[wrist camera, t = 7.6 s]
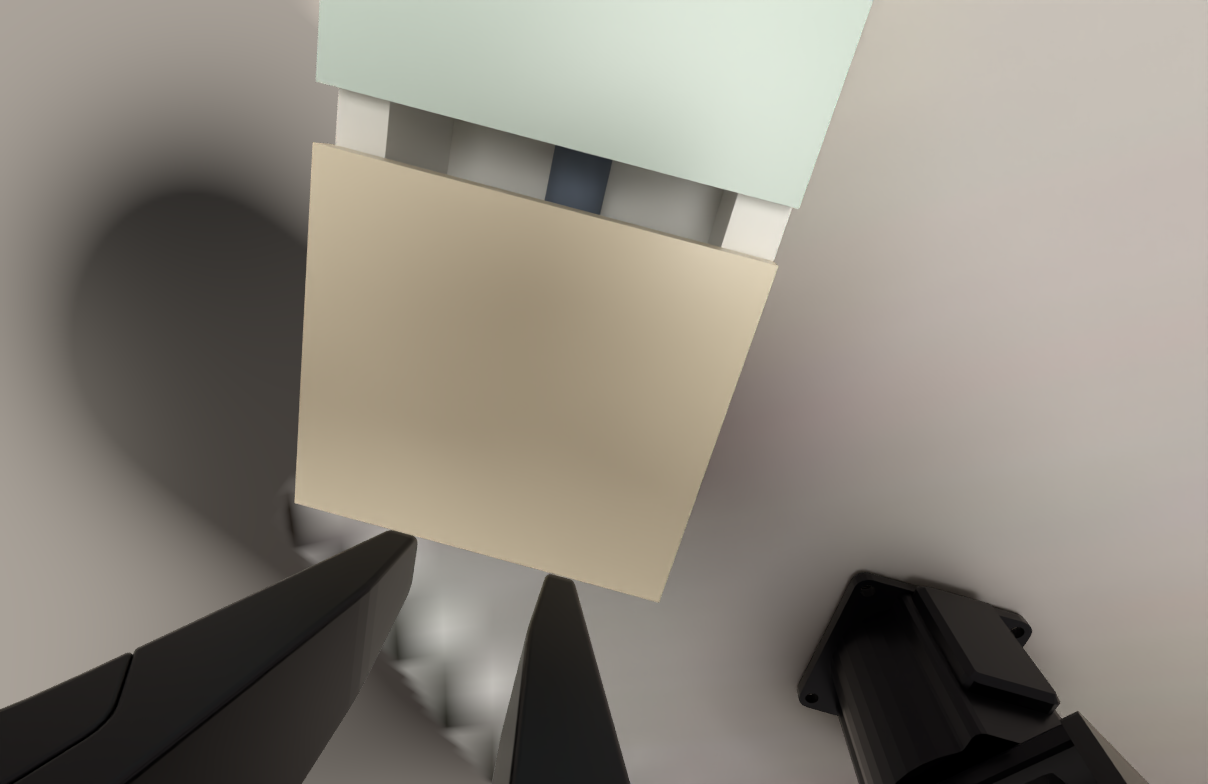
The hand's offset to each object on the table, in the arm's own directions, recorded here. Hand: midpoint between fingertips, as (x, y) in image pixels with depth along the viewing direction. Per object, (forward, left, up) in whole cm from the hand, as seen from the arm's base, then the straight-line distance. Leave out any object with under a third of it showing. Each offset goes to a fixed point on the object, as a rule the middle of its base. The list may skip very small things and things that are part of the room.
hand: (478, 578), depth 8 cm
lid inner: (0, +1, -7) cm, 7 cm away
